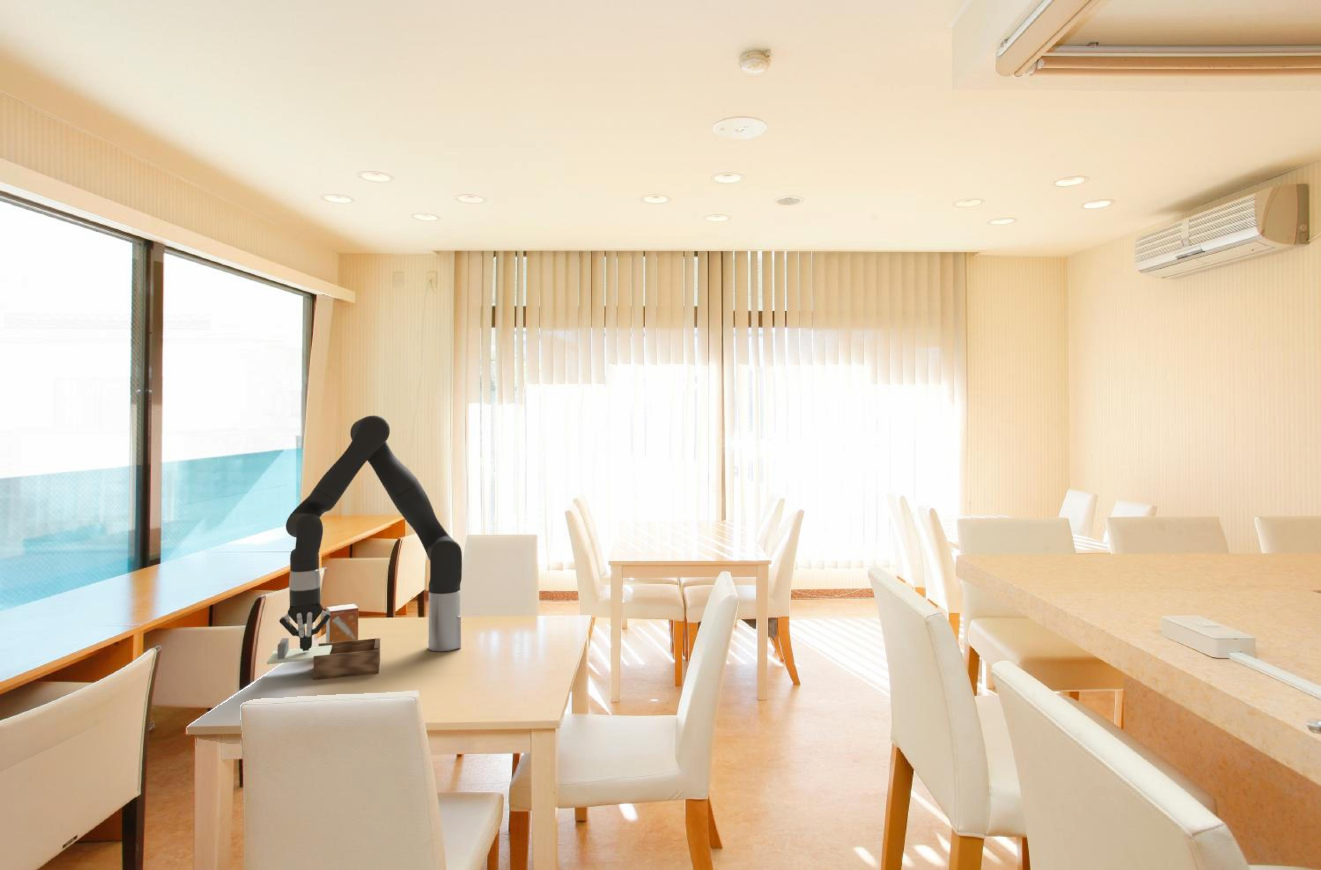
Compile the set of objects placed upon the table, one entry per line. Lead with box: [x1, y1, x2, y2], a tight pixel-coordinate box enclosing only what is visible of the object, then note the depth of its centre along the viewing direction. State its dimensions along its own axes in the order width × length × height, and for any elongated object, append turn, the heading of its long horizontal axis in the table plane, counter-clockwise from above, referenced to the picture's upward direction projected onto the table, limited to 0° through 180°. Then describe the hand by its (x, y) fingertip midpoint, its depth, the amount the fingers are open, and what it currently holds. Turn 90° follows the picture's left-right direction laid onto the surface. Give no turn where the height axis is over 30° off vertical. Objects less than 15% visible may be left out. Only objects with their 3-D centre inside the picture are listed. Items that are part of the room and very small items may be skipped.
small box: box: [325, 603, 359, 643], centre depth 214 cm, size 8×6×13 cm
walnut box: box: [313, 637, 381, 680], centre depth 197 cm, size 16×12×6 cm
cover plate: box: [266, 637, 332, 665], centre depth 193 cm, size 14×11×4 cm
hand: (305, 650), depth 193 cm, fingers closed
